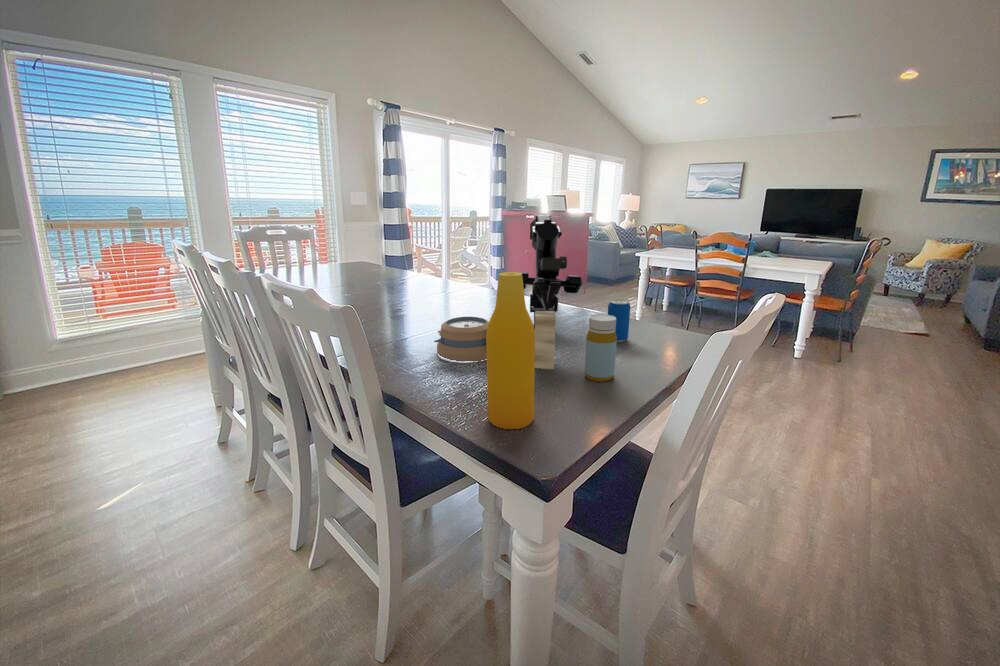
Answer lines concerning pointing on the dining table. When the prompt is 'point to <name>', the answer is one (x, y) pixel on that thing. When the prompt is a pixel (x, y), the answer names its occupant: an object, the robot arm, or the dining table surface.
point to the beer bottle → (510, 356)
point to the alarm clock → (463, 339)
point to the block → (544, 339)
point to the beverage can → (620, 317)
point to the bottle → (601, 348)
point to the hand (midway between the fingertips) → (547, 310)
